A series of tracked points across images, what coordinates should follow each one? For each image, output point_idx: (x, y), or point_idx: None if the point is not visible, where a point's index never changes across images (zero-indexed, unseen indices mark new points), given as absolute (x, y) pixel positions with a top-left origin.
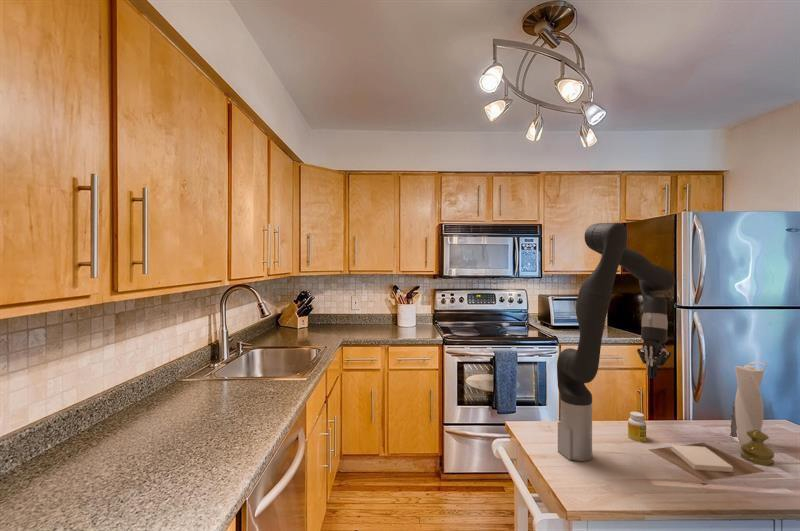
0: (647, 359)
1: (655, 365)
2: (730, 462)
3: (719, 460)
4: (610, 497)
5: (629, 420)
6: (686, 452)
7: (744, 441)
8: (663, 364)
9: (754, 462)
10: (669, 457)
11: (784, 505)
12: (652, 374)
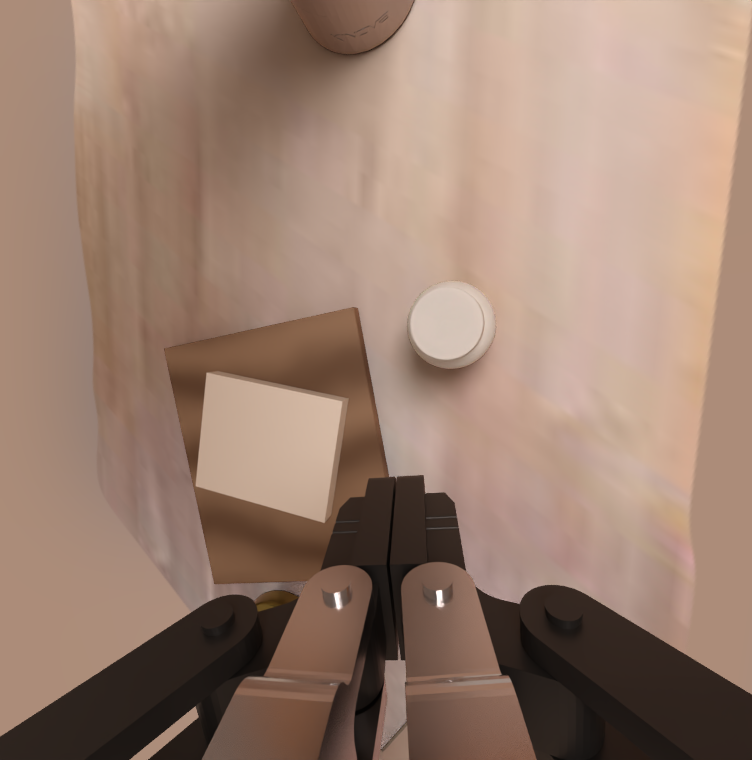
0: (458, 678)
1: (275, 614)
2: (261, 531)
3: (232, 481)
4: (111, 17)
5: (456, 283)
6: (284, 414)
7: (407, 738)
8: (200, 729)
9: (255, 603)
10: (293, 347)
11: (103, 477)
12: (360, 510)
